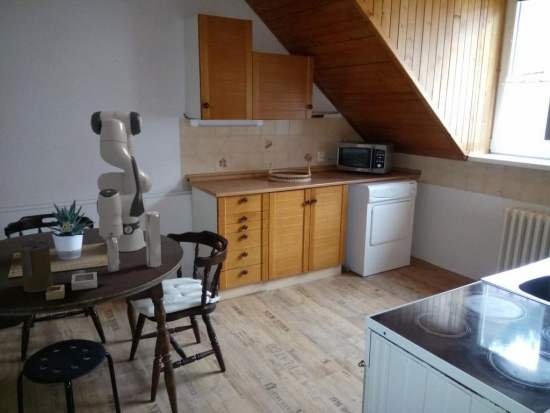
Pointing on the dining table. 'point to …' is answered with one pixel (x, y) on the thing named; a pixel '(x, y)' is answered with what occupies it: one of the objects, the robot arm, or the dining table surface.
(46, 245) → the canister
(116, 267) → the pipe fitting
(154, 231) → the light grey piece
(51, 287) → the narrow socket
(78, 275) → the wide socket
